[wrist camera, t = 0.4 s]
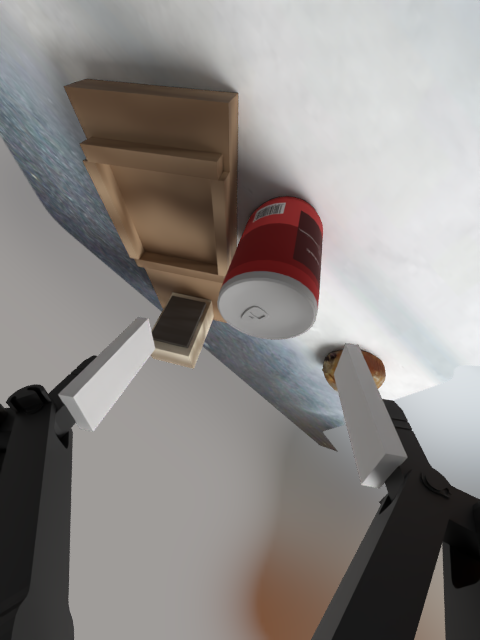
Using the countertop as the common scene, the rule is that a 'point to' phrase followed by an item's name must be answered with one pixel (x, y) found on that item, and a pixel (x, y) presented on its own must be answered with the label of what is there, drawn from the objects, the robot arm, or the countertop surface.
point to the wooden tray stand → (167, 194)
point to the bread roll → (371, 360)
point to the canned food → (275, 272)
